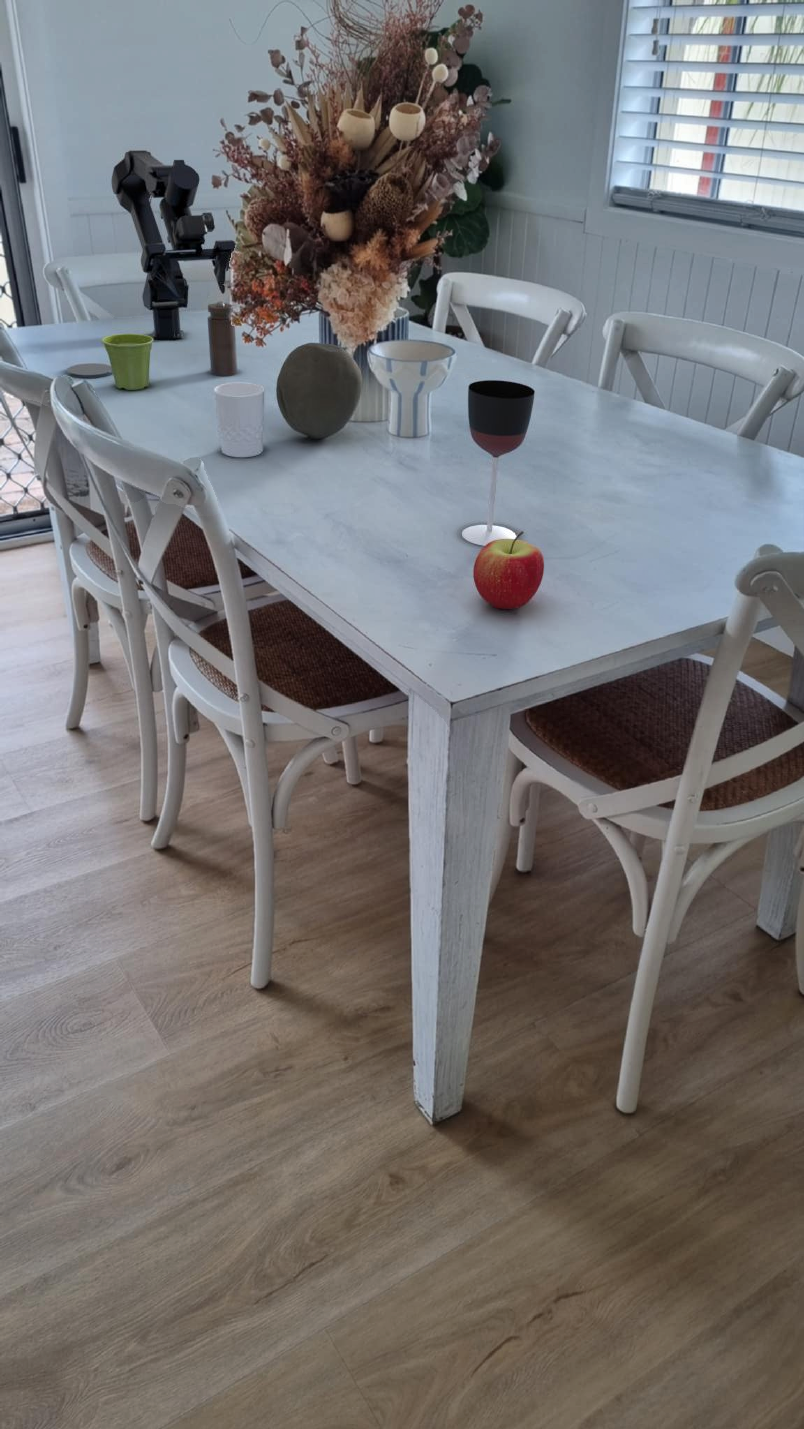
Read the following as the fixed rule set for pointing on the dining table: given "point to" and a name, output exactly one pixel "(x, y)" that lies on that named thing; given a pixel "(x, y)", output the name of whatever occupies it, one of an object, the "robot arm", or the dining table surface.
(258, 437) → the white cup
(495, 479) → the wineglass
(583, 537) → the dining table surface
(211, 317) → the pepper mill
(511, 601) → the apple
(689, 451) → the dining table surface
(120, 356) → the plant pot
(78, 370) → the coaster
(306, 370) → the smooth river stone
